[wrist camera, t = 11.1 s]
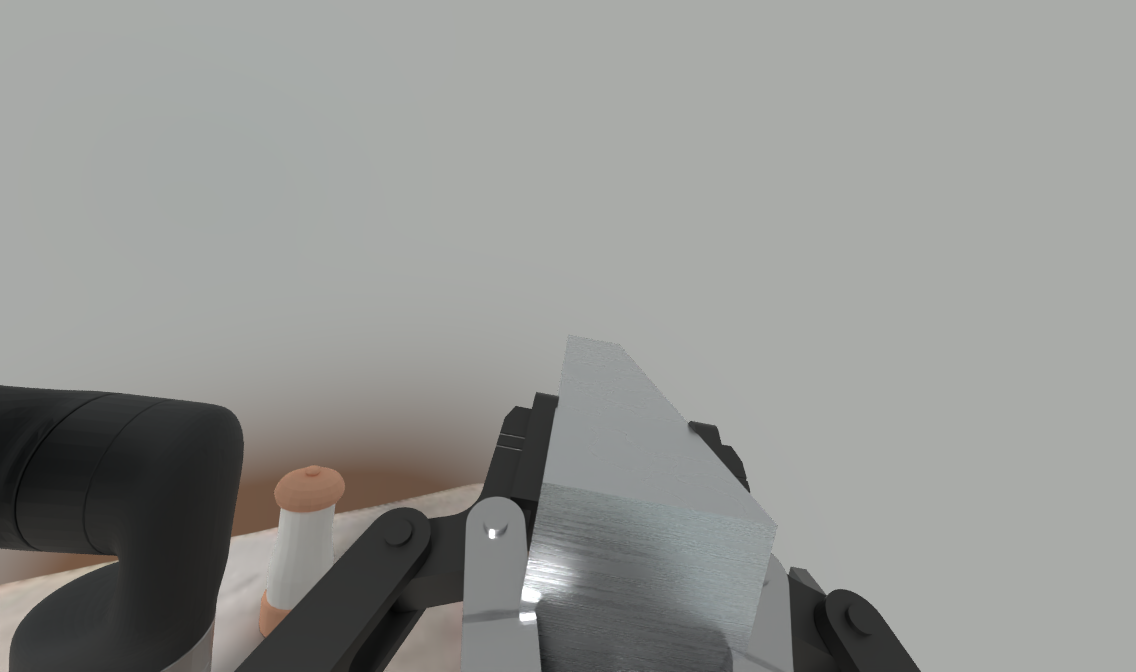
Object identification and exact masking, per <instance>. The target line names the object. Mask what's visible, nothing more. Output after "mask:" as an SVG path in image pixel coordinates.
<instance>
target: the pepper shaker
mask: <svg viewBox="0 0 1136 672" xmlns="http://www.w3.org/2000/svg"><path fill="white" fill-rule="evenodd" d="M344 488H345V484H344V480H343V479H342V477H341V475H340V474H339V473H338V472H337V471H335V470H333V469H330V468H325V467H319V466H316V465H313V466H309V467H306V468H301V469H298V470H294V471H292V472H290V473H288V474H287V475H285V476H284V477H283V478H282V479H281V480H280V481H279V483H278V484H277V486H276V489H275V491H274V495H275V499H276V502H277V504H278V505H279V506H280V507H281V512H280V520H279V529H278V537H277V541H276V544H275V548H274V551H273V554H272V558H271V561H270V564H269V568H268V577H267V589H266V590H265V591H264V594H263V597H262V600H261V610H260V619H259V628H260V632H261V633H262V634H263V635H264V637H267V636H268V635H269V634H270V633H271V632H272V631H273V630H274V629H275V627H276V626H277V625H278V624H279V623H280V622H281V621H282V620H283V619H284V618H285V617H286V616H287V615H288V614H289V612H290V611H291V610H292V609H293V608H294V607H295V606H296V605H297V604H298V603H299V602H300V601H301V600H302V598H303V597H304V596H305V595H306V594H307V593H308V592H309V591H310V590H311V589H312V588H313V587H314V586H315V585H316V583H317V582H318V581H319V580H320V579H321V578H322V577H323V576H324V575H325V574H326V573H327V572H328V571H329V570H330V568H331V567H332V566H333V561H334V550H333V536H332V528H333V519H334V509H335V503H336V502H337V501H338V500H339V499H340V497H341V496H342V494H343V492H344Z"/></svg>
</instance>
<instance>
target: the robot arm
mask: <svg viewBox="0 0 1136 672" xmlns="http://www.w3.org/2000/svg"><path fill="white" fill-rule="evenodd" d="M558 402H559V396H555V395H549V394H544V393H538V392H536V395H535V399H534V403H533V407H532V409H528V408H523V407H518V406H515V408H513V410H512V411H511V412H510V413H509V414H508V415H507V416H506V417H505V419H504V422H503V425H502V429H501V432H500V435H499V438H498V442H497V445H496V448H495V451H494V454H493V458H492V461H491V464H490V467H489V471H488V474H487V477H486V480H485V483H484V487H483V490H482V492H481V495H480V497H479V498H478V500H477V501H476V502H475V503H474V504H473V505H472V506H471V507H470V508H468V509H467V510H465V511H463V512H461V513H459V514H456V515H451V516H445V517H438V518H430V519H427V517H426V516H425V515H424V514H423V513H422V512H420V511H418V510H416V509H413V508H406V507H404V508H397V509H393V510H390V511H388V512H386V513H384V514H383V515H381V516H380V517H379V518H377V519H376V520H375V521H374V522H373V523H372V524H371V526H370V527H369V528H368V529H367V530H366V531H365V532H364V533H363V534H362V535H361V536H360V537H359V538H358V539H357V541H356V542H355V543H354V544H353V545H352V546H351V547H350V548H349V549H348V550H347V551H346V552H345V553H344V555H343V556H342V557H341V558H340V559H339V560H338V561H337V562H336V563H335V564H334V565H333V566H332V567H331V568H330V570H329V571H328V572H327V573H326V574H325V575H324V576H323V577H322V578H321V579H320V580H319V581H318V582H317V583H316V585H315V586H314V587H313V588H312V589H311V590H310V591H309V592H308V593H307V594H306V595H305V596H304V597H303V598H302V600H301V601H300V602H299V603H298V604H297V605H296V606H295V607H294V608H293V609H292V610H291V611H290V612H289V614H288V615H287V616H286V617H285V618H284V619H283V620H282V621H281V622H280V623H279V624H278V625H277V626H276V627H275V629H274V630H273V631H272V632H271V633H270V634H269V635H268V636H267V637H266V638H265V639H264V640H263V641H262V642H261V644H260V645H259V646H258V647H257V648H256V649H255V650H254V651H253V652H252V653H251V654H250V655H249V656H248V657H247V659H246V660H245V661H244V662H243V663H242V664H241V665H240V666H239V667H238V668H237V669H236V670H235V671H234V672H383V671H384V669H385V668H386V667H387V665H388V664H389V662H390V661H391V659H392V658H393V656H394V655H395V653H396V652H397V650H398V649H399V648H400V646H401V645H402V643H403V642H404V640H405V639H406V637H407V636H408V634H409V633H410V632H411V630H412V629H413V627H414V626H415V624H416V623H417V621H418V620H419V618H420V617H421V615H422V614H423V613H424V611H425V610H426V608H429V607H434V606H439V605H445V604H450V603H455V602H460V601H463V621H462V646H461V672H541V662H540V650H539V639H538V628H537V621H536V615H535V612H534V611H528V612H519V607H520V602H521V596H522V591H523V585H524V580H525V574H526V569H527V563H528V553H527V551H530V545H531V540H532V535H533V529H534V524H535V519H536V513H537V508H538V503H539V497H540V492H541V486H542V481H543V475H544V470H545V464H546V459H547V453H548V448H549V442H550V437H551V431H552V426H553V420H554V415H555V409H556V408H557V407H558ZM688 425H689V426H690V427H691V428H692V430H693V431H694V432H695V433H696V434H698V435H699V436H700V437H701V438H702V440H703V441H704V442H705V443H706V444H707V445H708V446H709V448H710V449H711V450H712V451H713V452H714V453H715V454H716V456H717V457H718V458H719V459H720V460H721V461H722V462H723V464H724V465H725V466H726V467H727V468H728V469H729V470H730V472H731V473H732V474H733V475H734V476H735V477H736V478H737V480H738V481H739V482H740V483H741V484H742V485H743V486H744V488H745V489H746V490H747V491H748V492H749V493H750V488H749V485H748V481H746V474H745V471H744V467H743V463H742V461H741V460H740V458H739V457H738V455H737V454H736V452H735V451H734V450H733V448H732V447H731V446H727V445H722V444H721V440H720V436H719V432H718V429H717V427H716V426H715V425H709V424H703V423H698V422H693V421H690V422H689V423H688ZM243 450H244V442H243V433H242V429H241V426H240V423H239V421H238V419H237V417H236V416H235V415H234V414H233V413H232V412H231V411H230V410H228V409H227V408H225V407H222V406H218V405H214V404H207V403H200V402H192V401H184V400H175V399H166V398H158V397H148V396H140V395H131V394H122V393H111V392H100V391H76V390H73V391H72V390H54V389H39V388H25V387H13V386H2V385H0V548H1V549H12V550H26V551H45V552H58V553H76V554H95V555H114V556H118V559H119V562H116V563H113V564H110V565H107V566H104V567H102V568H99V569H97V570H94V571H92V572H90V573H87V574H85V575H83V576H81V577H79V578H77V579H75V580H73V581H71V582H69V583H68V584H66V585H64V586H63V587H61V588H59V589H58V590H56V591H55V592H53V593H52V594H50V595H49V596H47V597H46V598H45V599H43V600H42V601H41V602H40V603H38V604H37V605H36V606H35V607H34V608H33V609H32V610H31V611H30V612H29V613H28V614H27V615H26V616H25V618H24V619H23V620H22V621H21V623H20V624H19V626H18V628H17V629H16V631H15V634H14V636H13V638H12V642H11V646H10V655H9V672H210V671H211V660H212V647H213V636H214V625H215V613H216V603H217V596H218V592H219V588H220V585H221V581H222V578H223V574H224V571H225V567H226V563H227V559H228V554H229V546H230V539H231V531H232V524H233V518H234V512H235V506H236V500H237V494H238V489H239V483H240V477H241V470H242V463H243ZM719 672H921V671H920V670H919V668H918V667H917V666H916V664H915V663H914V661H913V660H912V658H911V657H910V656H909V654H908V653H907V651H906V650H905V649H904V647H903V646H902V644H901V643H900V641H899V640H898V639H897V637H896V636H895V634H894V633H893V632H892V630H891V629H890V627H889V626H888V624H887V623H886V622H885V620H884V619H883V617H882V616H881V615H880V613H879V612H878V611H877V610H876V609H875V608H874V607H873V606H872V605H871V604H870V603H869V602H868V601H867V600H865V599H864V598H862V597H861V596H859V595H858V594H856V593H854V592H851V591H848V590H843V589H838V590H834V591H832V592H831V593H829V594H828V595H827V596H826V595H824V594H822V593H820V592H818V591H816V590H815V589H813V588H811V587H809V586H807V585H805V584H803V583H801V582H799V581H797V580H795V579H793V578H792V577H790V576H789V575H788V574H786V572H785V569H784V568H783V566H782V564H781V563H780V562H779V560H778V559H777V558H776V557H775V556H774V555H773V554H772V553H771V554H770V558H769V562H768V566H767V570H766V574H765V578H764V582H763V586H762V591H761V595H760V599H759V603H758V607H757V611H756V615H755V619H754V623H753V627H752V631H751V635H750V639H749V644H748V648H747V652H746V655H745V654H743V653H740V652H738V651H736V650H734V649H732V648H730V647H729V648H728V650H727V653H726V656H725V658H724V661H723V663H722V666H721V668H720V671H719Z"/></svg>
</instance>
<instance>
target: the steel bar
mask: <svg viewBox="0 0 1136 672" xmlns="http://www.w3.org/2000/svg"><path fill="white" fill-rule="evenodd" d="M557 396H559V402H558V407H557V408H556V409H555V415H554V420H553V426H552V431H551V437H550V442H549V448H548V453H547V459H546V464H545V470H544V475H543V481H542V486H541V492H540V497H539V503H538V508H537V513H536V519H535V524H534V529H533V535H532V540H531V545H530V551H529V555H528V563H527V569H526V574H525V580H524V585H523V591H522V596H521V602H520V607H519V612H528V611H534V612H535V615H536V621H537V628H538V639H539V650H540V662H541V672H719V671H720V668H721V666H722V663H723V661H724V658H725V656H726V653H727V650H728V648H729V647H730V648H732V649H734V650H736V651H738V652H740V653H743V654H745V655H746V652H747V648H748V644H749V639H750V635H751V631H752V627H753V623H754V619H755V615H756V611H757V607H758V603H759V599H760V595H761V591H762V586H763V582H764V578H765V574H766V570H767V566H768V562H769V558H770V554H771V550H772V545H773V541H774V537H775V533H776V529H777V524H776V523H775V522H774V521H773V520H772V518H771V517H770V516H769V515H768V514H767V513H766V512H765V510H764V509H763V508H762V507H761V506H760V505H759V504H758V503H757V501H756V500H755V499H754V498H753V497H752V496H751V494H750V493H749V492H748V491H747V490H746V489H745V488H744V486H743V485H742V484H741V483H740V482H739V481H738V480H737V478H736V477H735V476H734V475H733V474H732V473H731V472H730V470H729V469H728V468H727V467H726V466H725V465H724V464H723V462H722V461H721V460H720V459H719V458H718V457H717V456H716V454H715V453H714V452H713V451H712V450H711V449H710V448H709V446H708V445H707V444H706V443H705V442H704V441H703V440H702V438H701V437H700V436H699V435H698V434H696V433H695V432H694V431H693V430H692V428H691V427H690V426H689V425H688V422H687V421H686V420H685V419H684V418H683V417H682V416H681V414H680V413H679V412H678V411H677V410H676V409H675V408H674V406H673V405H672V404H671V403H670V402H669V401H668V400H667V399H666V397H665V396H664V395H663V394H662V393H661V392H660V391H659V389H658V388H657V387H656V386H655V385H654V384H653V383H652V381H651V380H650V379H649V378H648V377H647V376H646V374H645V373H644V372H643V371H642V370H641V369H640V368H639V366H638V365H637V364H636V363H635V362H634V361H633V360H632V358H631V357H630V356H629V355H628V354H627V353H626V352H625V350H624V349H623V348H622V347H621V346H620V345H619V344H615V343H609V342H604V341H598V340H593V339H587V338H582V337H577V336H571V335H569V336H568V341H567V346H566V351H565V357H564V362H563V368H562V373H561V379H560V384H559V389H558V395H557Z"/></svg>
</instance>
